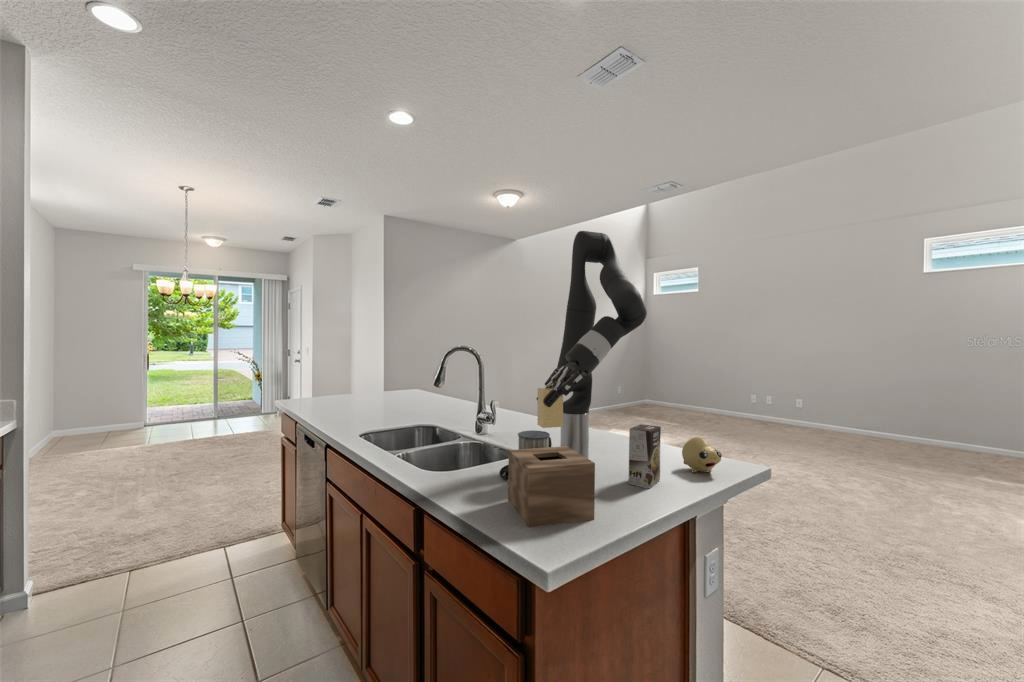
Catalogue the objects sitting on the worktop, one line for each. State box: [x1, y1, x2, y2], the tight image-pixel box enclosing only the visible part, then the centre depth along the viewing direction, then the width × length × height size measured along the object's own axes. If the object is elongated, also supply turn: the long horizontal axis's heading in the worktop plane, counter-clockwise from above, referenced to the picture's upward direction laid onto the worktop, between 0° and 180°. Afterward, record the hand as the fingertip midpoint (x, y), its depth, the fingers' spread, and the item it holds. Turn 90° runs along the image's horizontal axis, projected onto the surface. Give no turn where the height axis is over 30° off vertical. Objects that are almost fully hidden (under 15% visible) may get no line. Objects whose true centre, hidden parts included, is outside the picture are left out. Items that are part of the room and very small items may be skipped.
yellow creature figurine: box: [681, 436, 723, 473], centre depth 136 cm, size 10×12×11 cm
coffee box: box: [628, 424, 662, 489], centre depth 126 cm, size 9×6×16 cm
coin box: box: [507, 446, 596, 528], centre depth 105 cm, size 16×16×13 cm
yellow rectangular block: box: [537, 387, 564, 429], centre depth 105 cm, size 4×5×9 cm
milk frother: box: [498, 430, 553, 481], centre depth 125 cm, size 14×16×15 cm
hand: (542, 403), depth 105 cm, fingers closed on yellow rectangular block, 4 cm apart
